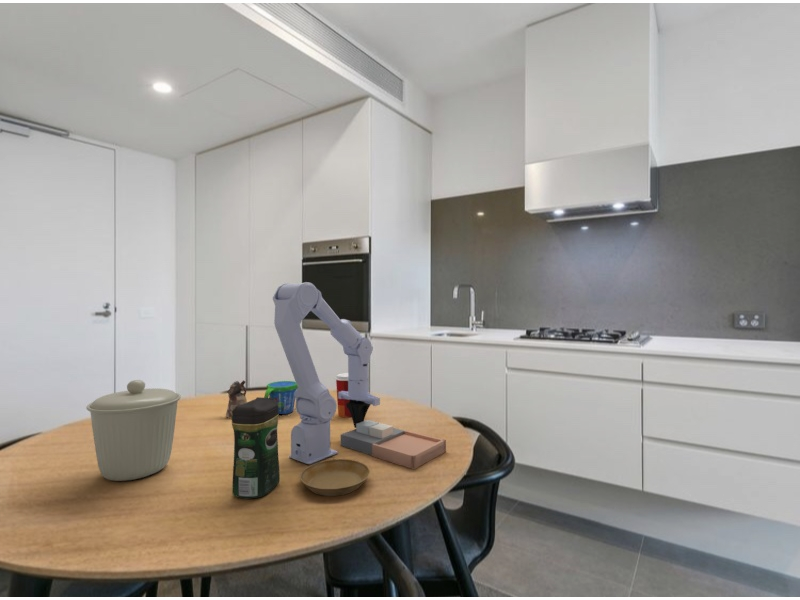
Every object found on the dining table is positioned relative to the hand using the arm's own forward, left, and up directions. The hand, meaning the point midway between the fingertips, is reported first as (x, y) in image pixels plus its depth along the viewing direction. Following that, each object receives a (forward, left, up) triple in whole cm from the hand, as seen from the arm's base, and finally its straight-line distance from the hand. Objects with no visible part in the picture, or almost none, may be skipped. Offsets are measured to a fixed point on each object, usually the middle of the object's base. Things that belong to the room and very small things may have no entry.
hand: (358, 427), depth 113 cm
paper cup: (+15, +21, -4) cm, 26 cm away
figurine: (-8, +50, -4) cm, 51 cm away
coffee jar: (-35, -4, -4) cm, 35 cm away
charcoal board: (0, -5, -3) cm, 6 cm away
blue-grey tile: (0, -4, 0) cm, 4 cm away
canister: (-47, +26, -4) cm, 54 cm away
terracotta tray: (0, -18, -3) cm, 18 cm away
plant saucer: (-23, -16, -4) cm, 28 cm away
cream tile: (0, -8, 0) cm, 9 cm away
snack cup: (+4, +41, -4) cm, 42 cm away
